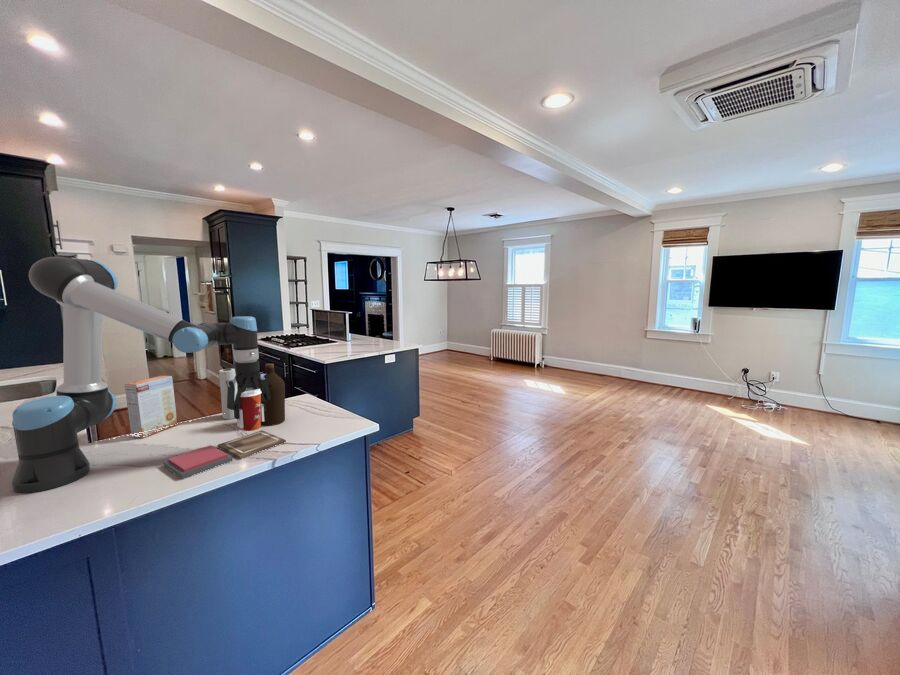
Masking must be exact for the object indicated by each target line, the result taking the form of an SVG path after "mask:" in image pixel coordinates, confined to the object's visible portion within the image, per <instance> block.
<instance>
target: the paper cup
mask: <svg viewBox="0 0 900 675" xmlns="http://www.w3.org/2000/svg"><path fill="white" fill-rule="evenodd" d="M261 393H262V392H261V391H260V389H254V388H253V387H248V388H246V390H245V392H243V393H241V396H240V397H241V400H242V403H241V406H240V409H242V413H243V426H244V428H242V431H244V432H252V431H256V430H259V429H260V428H261V426H262V424H261Z"/></svg>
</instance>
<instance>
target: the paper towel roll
mask: <svg viewBox="0 0 900 675" xmlns="http://www.w3.org/2000/svg"><path fill="white" fill-rule="evenodd" d="M218 373H219V374H218V375H219V385H220V386H219V387H220V399H221V414H222V419H224V420H233V419H235V418H234V410H230V409H228V408H227V392H228V387H227V384H226V381H227V380H229V381H230V380H233V379H234V378H235V375H236V374H235V368H224V369H223V368H222V369H220V370H219V371H218ZM235 384H236V385H235V397H236V394H237V391H238V389H237V388H238V383H237V382H236V383H235ZM234 401H235V400H234ZM224 413H225V414H224Z"/></svg>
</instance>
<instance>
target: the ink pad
mask: <svg viewBox="0 0 900 675" xmlns="http://www.w3.org/2000/svg"><path fill="white" fill-rule="evenodd" d="M233 458H234V457H233V455H231V454H229V453H227V452H226V451H224V450H222V449H220V448H218V447H215V446H213V445H207V446H204V447H201V448H197V449H195V450H191V451H188V452H185V453H182V454H178V455H176V456H172V457H168V458H167V460H164V461H163V462H162V463H163V467H164V466H165V467H164V468H165V469H167V468H168V469H169V470H168V469H167V470H168V471H170V470H171V471H172V472H171V471H170V472H171V473H173V474H174V473H175V474H176V475H175V474H174V475H175V476H176V477H178V476H179V477H178V478H180V480H184V478H185V479H188V478H190V477H193V476H195V475H194V474H196V475H198V474H197V473H199V474H201V473H204V472H206V471H205V470H207V471H209V470H211V469H210V468H212V469H214V468H213V467H215V466H218V465H220V466H222V465H221V464H223V465H225V464H224V463H226V464H228V463H231V462H233V461H232V460H233ZM230 461H231V462H230ZM227 462H228V463H227ZM218 467H219V466H218ZM215 468H216V467H215ZM208 469H209V470H208ZM203 471H204V472H203ZM200 472H201V473H200ZM192 475H193V476H192ZM187 477H188V478H187Z"/></svg>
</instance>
